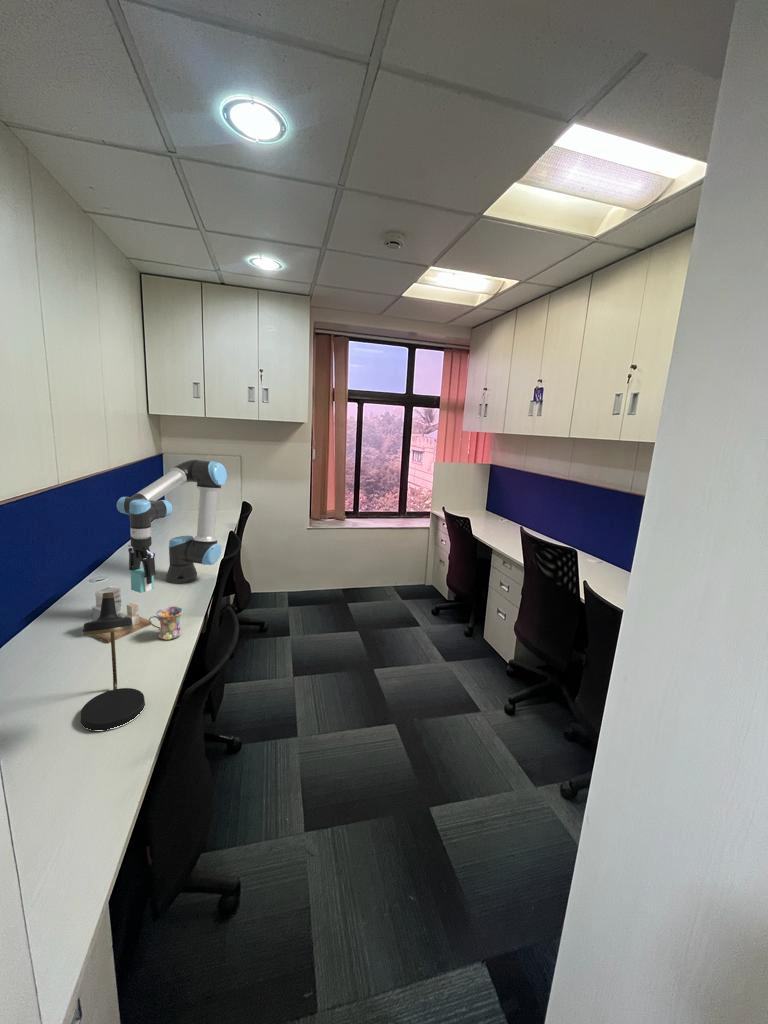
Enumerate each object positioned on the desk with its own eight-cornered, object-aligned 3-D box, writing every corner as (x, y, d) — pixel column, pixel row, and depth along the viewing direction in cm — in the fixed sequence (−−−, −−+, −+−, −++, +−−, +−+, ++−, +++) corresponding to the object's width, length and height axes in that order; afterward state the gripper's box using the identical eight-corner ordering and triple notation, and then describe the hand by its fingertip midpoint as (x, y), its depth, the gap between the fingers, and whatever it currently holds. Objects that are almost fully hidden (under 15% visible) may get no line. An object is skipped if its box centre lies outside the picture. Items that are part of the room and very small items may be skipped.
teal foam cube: (144, 585, 180) (144, 567, 178) (153, 588, 177) (153, 570, 176) (131, 589, 174) (130, 571, 173) (140, 593, 172) (140, 574, 170)
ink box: (106, 620, 173) (104, 594, 171) (96, 618, 174) (94, 592, 171) (122, 611, 181) (121, 586, 179) (113, 609, 182) (111, 585, 180)
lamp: (76, 741, 111) (66, 610, 103) (85, 694, 129) (76, 579, 121) (145, 724, 119) (140, 601, 111) (144, 681, 137) (139, 573, 129)
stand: (132, 616, 178) (131, 593, 175) (151, 624, 173) (150, 600, 171) (88, 634, 162) (86, 609, 159) (108, 643, 157) (106, 617, 155)
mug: (183, 628, 172) (182, 605, 170) (182, 639, 164) (182, 615, 162) (150, 632, 167) (149, 608, 165) (148, 644, 159) (147, 619, 156)
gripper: (117, 534, 172) (119, 586, 176) (148, 543, 164) (149, 596, 169) (134, 530, 178) (136, 580, 183) (164, 539, 171) (165, 591, 176)
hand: (142, 588), depth 176 cm, fingers closed on teal foam cube, 6 cm apart
